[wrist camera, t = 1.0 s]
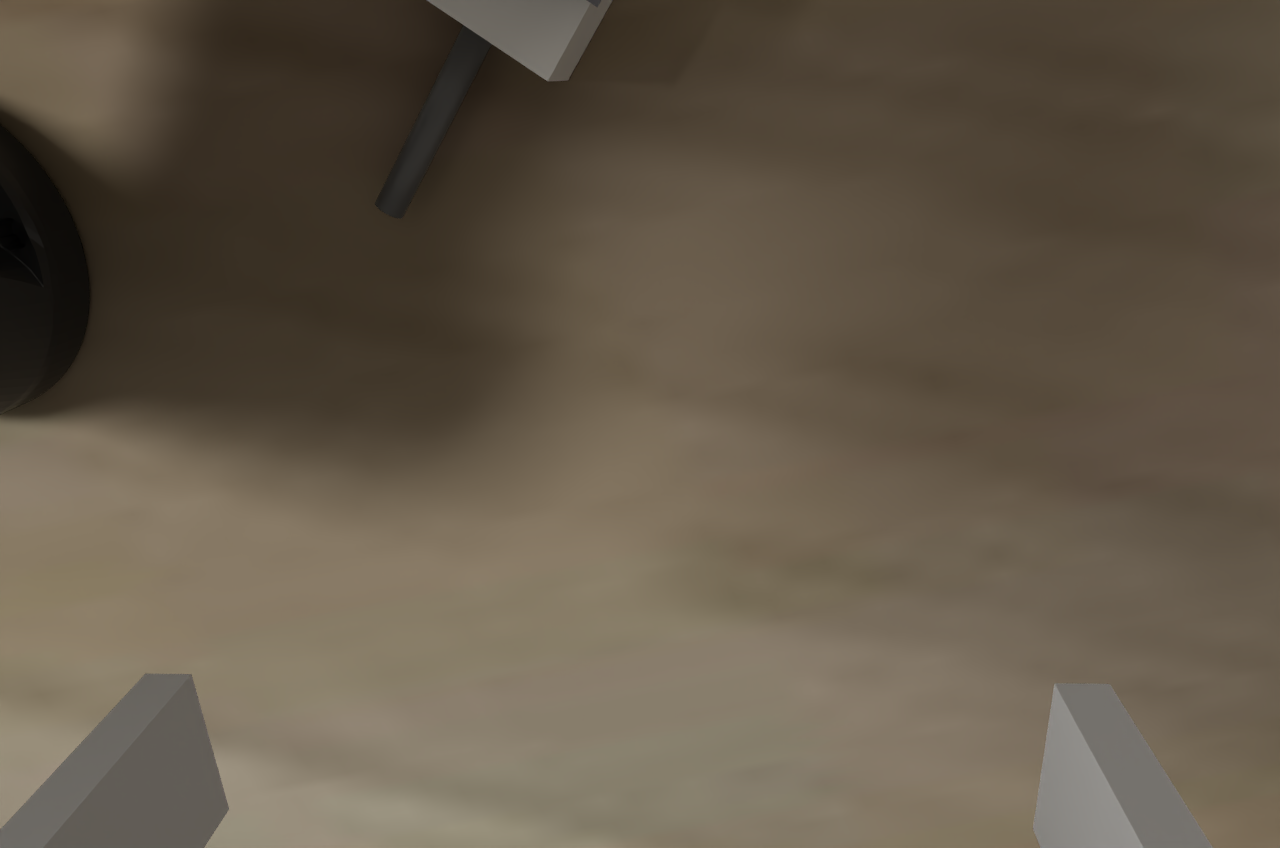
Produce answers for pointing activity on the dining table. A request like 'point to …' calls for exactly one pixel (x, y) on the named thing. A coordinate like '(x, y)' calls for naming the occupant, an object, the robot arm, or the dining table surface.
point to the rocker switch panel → (491, 14)
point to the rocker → (595, 2)
